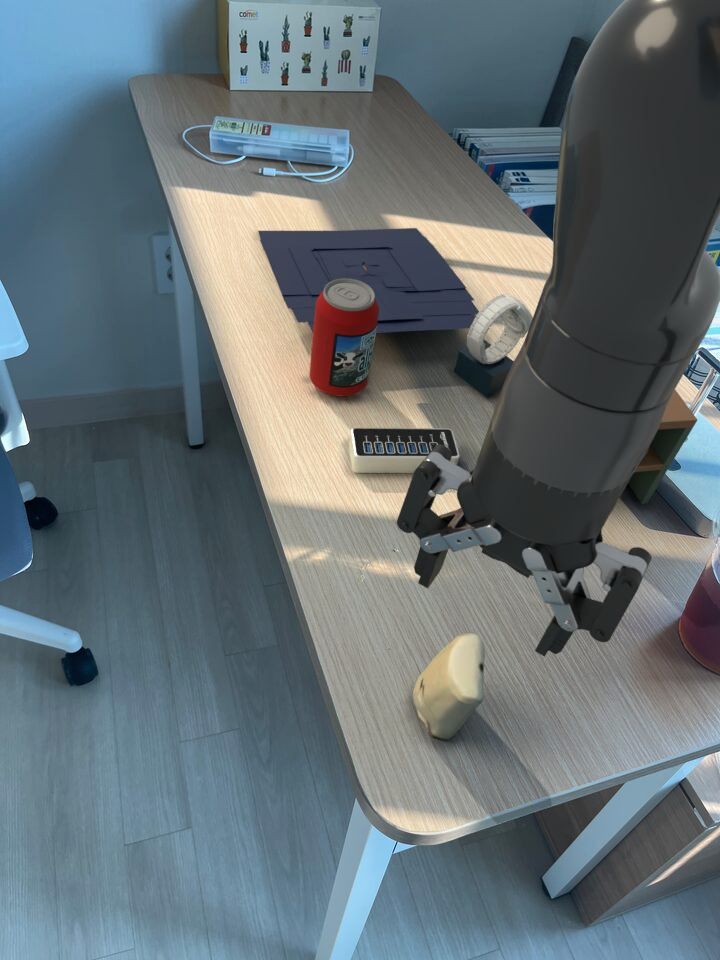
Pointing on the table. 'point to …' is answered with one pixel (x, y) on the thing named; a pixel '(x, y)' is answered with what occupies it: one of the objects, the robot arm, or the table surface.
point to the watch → (487, 361)
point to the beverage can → (343, 337)
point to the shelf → (663, 448)
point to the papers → (371, 275)
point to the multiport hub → (396, 448)
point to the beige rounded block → (451, 686)
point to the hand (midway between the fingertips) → (485, 610)
